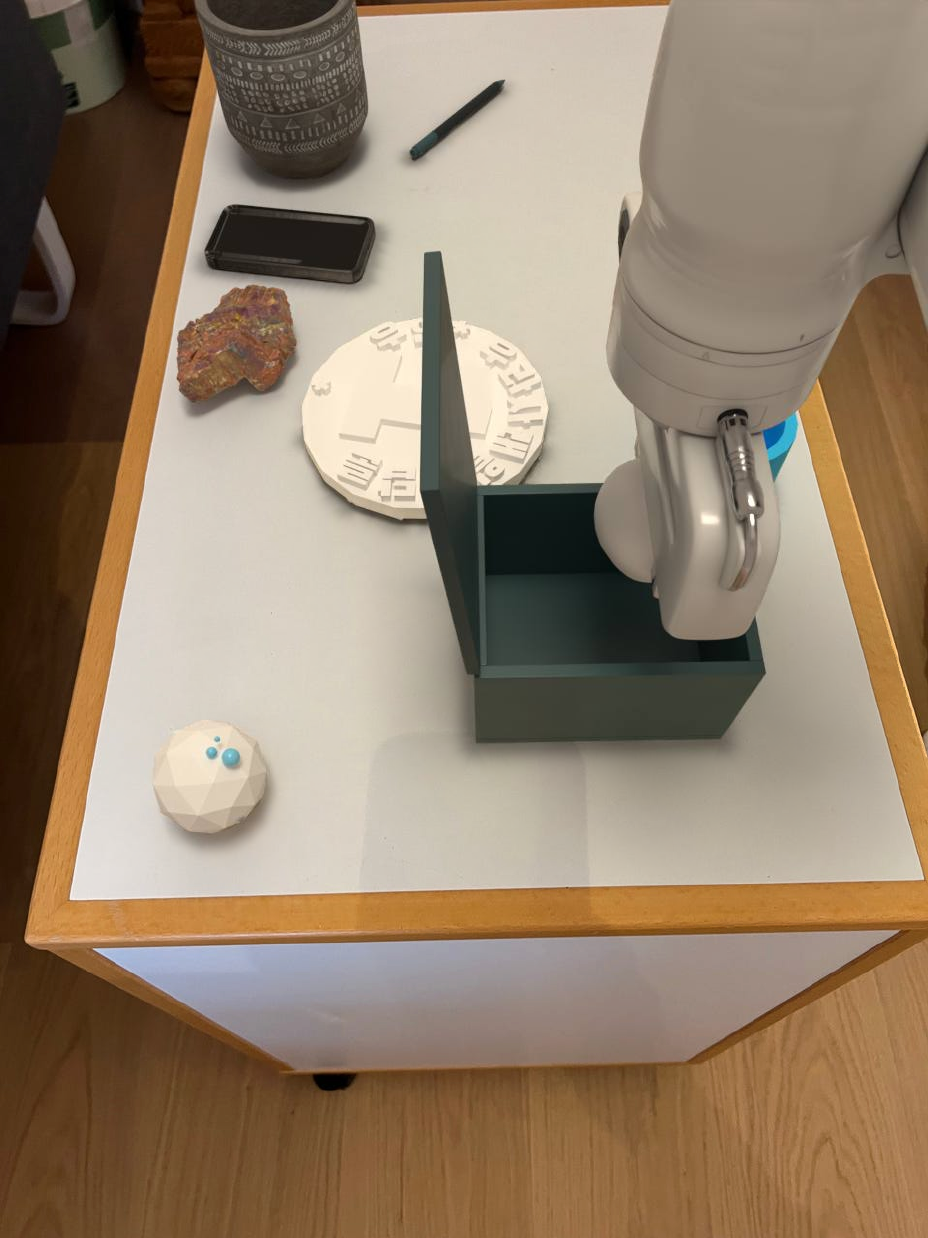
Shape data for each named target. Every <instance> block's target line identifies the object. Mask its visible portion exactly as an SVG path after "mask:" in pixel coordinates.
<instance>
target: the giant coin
mask: <svg viewBox="0 0 928 1238" xmlns="http://www.w3.org/2000/svg"><path fill="white" fill-rule="evenodd" d="M452 325H453V331H454V337H455V344H456V350H457V356H458V363H459V369H460V376H461V382H462V388H463V395H464V401H465V407H466V414H467V420H468V427H469V433H470V439H471V446H472V452H473V458H474V465H475V471H476V477H477V485H520V483H521V481H522V480H523V479H524V478H525V476H526V475H527V473H528V472H529V471H530V469H531V467H533V465H534V463H535V462H536V461H537V460H538V458H539V456H540V455H541V453H542V450H543V449H542V448H543V443H544V439H545V433H546V429H547V425H548V419H549V418H548V417H549V405H548V400H547V397H546V393H545V388H544V385H543V381H542V376H541V375H540V374H539V373H538V371H537V370H536V369H535V368H534V366H533V365H532V363H531V362H530V361H529V359H528V358H527V357H526V356H525V355H524V353H523V352H522V351H521V350H520V349H519V348H518V347H517V346H516V345H515V344H513V343H511V342H509V341H507V340H506V339H504V338H502V337H500V336H499V335H497V334H496V333H494V332H492V331H491V330H488V329H485V328H482V327H478V326H475V325H472V324H471V323H469V324H468V323H467V320H462V319H461V320H459V321H456V320H453V319H452ZM422 336H423V317H417V318H414V319H407V320H403V321H399V322H395V321H392V320H391V321H386V322H384V323H382V324H379V325H377V326H375V327H373V328H371V329H369V330H368V331H365V332H364V333H362V334H361V335H359V336H357V337H356V338H353V339H351V340H350V341H348V342H346V343H345V344H343V345H341V346H339V347H338V348H336V350H335V351H334V352H333V353H332V354H331V355H330V356H329V358H328V359H327V360H326V361H325V362H323V364H322V365H321V366H320V367H319V368H318V369H317V370H316V372H314V374H313V375H312V377H311V381H310V383H309V385H308V388H307V391H306V393H305V396H304V398H303V401H302V404H301V417H302V430H303V431H302V432H303V440H304V446H305V448H306V449H305V450H306V452H307V453H308V455H309V457H310V458H311V460H312V462H313V464H314V466H315V467H316V469H317V471H318V472H319V474H320V476H321V478H322V479H323V481H324V483H326V484H327V485H328V486H330V487H331V488H333V490H335V491H336V492H337V493H339V494H340V495H342V496H343V497H344V498H346V500H347V501H348V502H349V504H351V503H352V504H354V505H355V506H358V507H360V508H363V509H367V510H369V511H372V512H376V513H379V514H382V515H385V516H388V517H391V518H394V519H397V520H398V521H401V522H403V520H404V519H417V520H418V519H419V520H421V519H423V520H427V518H426V514H425V510H424V506H423V502H422V498H421V494H420V442H421V389H422Z"/></svg>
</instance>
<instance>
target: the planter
mask: <svg viewBox="0 0 928 1238" xmlns="http://www.w3.org/2000/svg"><path fill="white" fill-rule="evenodd" d="M193 3H194V7H195V11H196V16H197V19H198V22H199V26H200V29H201V34H202V38H203V43H204V47H205V50H206V53H207V58H208V62H209V64H210V68H211V72H212V75H213V79H214V82H215V85H216V92H217V95H218V100H219V103H220V107H221V110H222V114H223V117H224V121H225V124H226V127H227V129H228V131H229V133H230V135H231V136H232V137H233V139H234V140H235V141H236V142H237V143H238V145H239V146H240V147H241V148H242V149H244V151H245V152H246V153H247V154H248V155H249V156H250V157H251V158H252V159H253V160H254V161H256V162H257V163H258V164H259V165H260V166H261V167H263V169H264V170H266V172H269V174H272V175H274V176H276V177H278V178H283V179H286V180H295V181H296V180H297V181H303V180H305V181H306V180H312V179H313V180H314V179H317V178H321V177H324V176H327V175H329V174H331V173H333V172H335V171H336V170H337V169H340V167H342V166H343V165H344V164H345V162H347V160H348V159H349V157H350V155H351V153H352V151H353V150H354V147H355V146H356V144H357V142H358V140H359V138H360V135H361V133H362V131H363V128H364V126H365V123H366V121H367V118H368V114H369V97H368V87H367V80H366V73H365V66H364V60H363V59H364V58H363V50H362V41H361V32H360V24H359V23H360V22H359V17H358V9H357V3H356V0H193Z"/></svg>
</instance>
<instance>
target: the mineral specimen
mask: <svg viewBox="0 0 928 1238" xmlns="http://www.w3.org/2000/svg"><path fill="white" fill-rule="evenodd" d="M293 325H294V320H293V317H292V312H291V304H290V302H289V300H288V296H287V294H286V291H285V290H283V289H281V288H277V287H274V286H273V287H272V286H271V287H267V286H265V285H259V284H248V285H246V286H245V287H244V288H243V287H242V288H239V287H233V288H231V290H229V291H228V292H227V293H226V294H223V295H221V297H220V300H219V303H218V305H217V307H215V308H214V309H213V310H212V311H211V312H208V313H204V314H203V316H200V318H195V320H194V321H193V320H189V321H188V323H187V324H186V326H185V327H184V328H183V329H180V330H178V333H177V336H176V341H177V348H176V352H177V356H176V364H177V367H176V368H177V374H176V378H175V379H176V381H177V382H178V383H179V385H178V391H179V393H181V394H182V396H184V397H185V398H186V399H187V400H188V401H189V402H190V403H191V404H196V403H198V402H200V401H203V402H206V401H208V400H209V399H210V398H212V397H214V396H215V395H217V394H218V393H220V392H222V391H224V390H225V389H227V388H229V387H230V388H232V387H234V386H237V384H238V383H239V381H241V380H242V379H244V378H246V379H247V380H248V382H249V383H250V385H252V386H253V387H254V388H255V389H256V390H257V391H259V392H265V391H266V390H267V389H268V388H269V387H271V386H273V385H274V384H275V383H276V382H277V381H278V379H279V377H280V375H281V374H282V372H283V371H284V370H285V366H286V365H287V362H286V361H287V359H288V358H289V357H290V356H291V355H292V354H294V352H295V349H296V346H297V339H296V337H295V334H294V332H293V328H292V326H293Z"/></svg>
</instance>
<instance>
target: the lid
mask: <svg viewBox="0 0 928 1238" xmlns="http://www.w3.org/2000/svg"><path fill="white" fill-rule="evenodd" d="M422 289H423V290H422V291H423V292H422V293H423V294H422V300H423V301H422V318H423V336H422V389H421V442H420V494H421V498H422V502H423V506H424V510H425V514H426V518H427V519H426V522H427V525H428V529H429V533H430V537H431V540H432V541H431V542H432V545H433V548H434V552H435V556H436V560H437V564H438V567H439V573H440V576H441V580H442V583H443V588H444V591H445V595H446V598H447V603H448V606H449V610H450V614H451V618H452V622H453V626H454V630H455V634H456V637H457V638H456V639H457V642H458V646H459V650H460V654H461V658H462V661H463V665H464V669H465V673H466V675H467V676H472V675H473V676H474V675H475V674H481V661H480V610H479V559H478V508H477V477H476V471H475V465H474V458H473V452H472V446H471V439H470V433H469V427H468V420H467V414H466V407H465V401H464V395H463V388H462V382H461V376H460V369H459V363H458V356H457V350H456V344H455V337H454V331H453V325H452V320H453V319H452V312H451V307H450V302H449V301H450V300H449V294H448V287H447V281H446V274H445V267H444V261H443V256H442V252H441V250H436V251H435V250H433V251H425V252H424V253H423V288H422Z"/></svg>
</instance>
